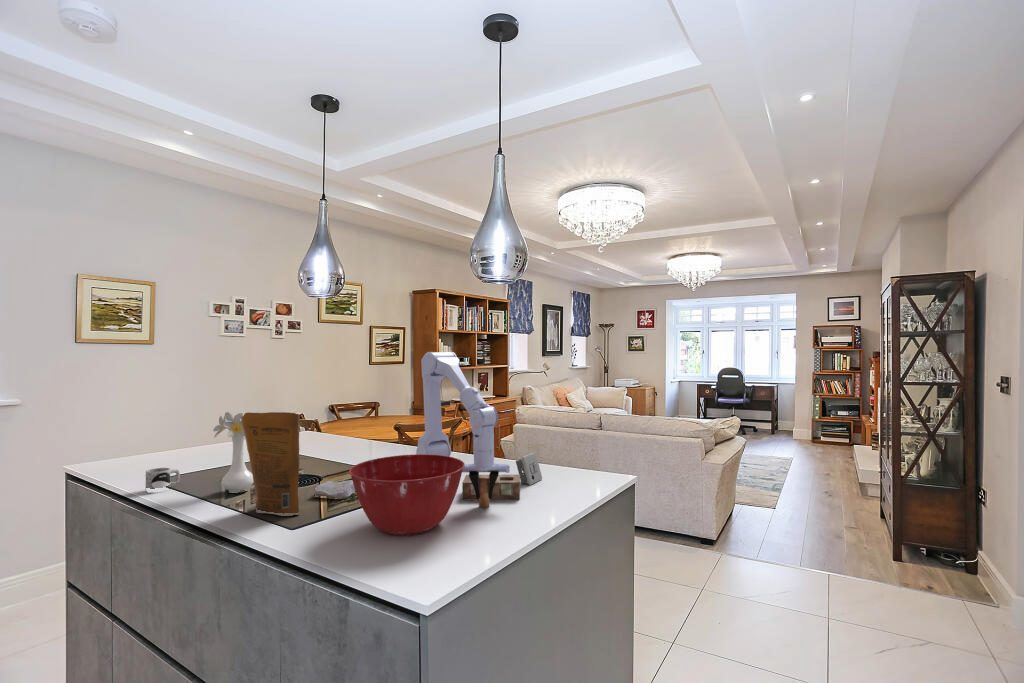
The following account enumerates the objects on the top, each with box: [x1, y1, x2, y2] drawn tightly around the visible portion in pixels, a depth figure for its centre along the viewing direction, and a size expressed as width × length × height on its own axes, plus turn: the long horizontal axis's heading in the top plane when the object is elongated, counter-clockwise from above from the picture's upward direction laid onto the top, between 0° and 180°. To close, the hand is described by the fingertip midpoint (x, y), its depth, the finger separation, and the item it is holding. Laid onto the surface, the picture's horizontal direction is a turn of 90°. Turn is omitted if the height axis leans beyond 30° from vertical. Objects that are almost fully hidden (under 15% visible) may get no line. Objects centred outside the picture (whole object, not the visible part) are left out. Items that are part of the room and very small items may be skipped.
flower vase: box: [212, 411, 254, 491], centre depth 170 cm, size 13×18×25 cm
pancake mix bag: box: [240, 411, 301, 514], centre depth 146 cm, size 7×19×28 cm, turn 66°
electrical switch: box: [515, 452, 543, 486], centre depth 179 cm, size 9×5×9 cm, turn 152°
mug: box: [145, 467, 181, 489], centre depth 173 cm, size 10×7×7 cm, turn 150°
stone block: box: [313, 479, 355, 497], centre depth 164 cm, size 12×5×10 cm
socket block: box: [461, 474, 521, 500], centre depth 163 cm, size 17×10×5 cm, turn 89°
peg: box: [478, 477, 491, 509], centre depth 151 cm, size 3×3×8 cm
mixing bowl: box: [348, 454, 466, 536], centre depth 134 cm, size 28×28×16 cm
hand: (484, 497), depth 151 cm, fingers closed on peg, 3 cm apart
